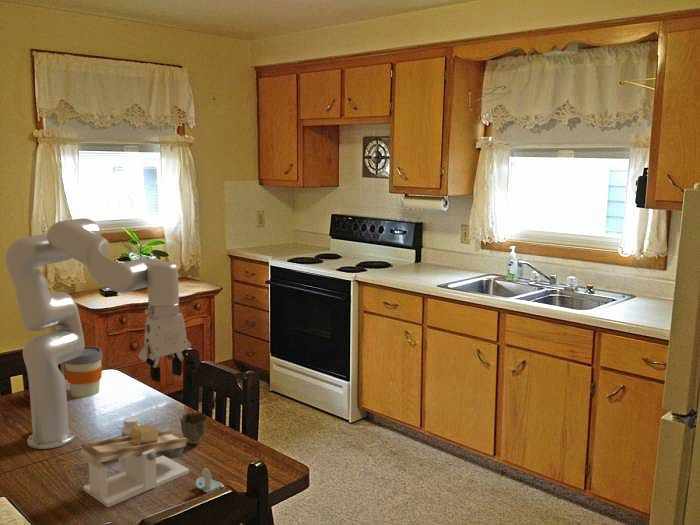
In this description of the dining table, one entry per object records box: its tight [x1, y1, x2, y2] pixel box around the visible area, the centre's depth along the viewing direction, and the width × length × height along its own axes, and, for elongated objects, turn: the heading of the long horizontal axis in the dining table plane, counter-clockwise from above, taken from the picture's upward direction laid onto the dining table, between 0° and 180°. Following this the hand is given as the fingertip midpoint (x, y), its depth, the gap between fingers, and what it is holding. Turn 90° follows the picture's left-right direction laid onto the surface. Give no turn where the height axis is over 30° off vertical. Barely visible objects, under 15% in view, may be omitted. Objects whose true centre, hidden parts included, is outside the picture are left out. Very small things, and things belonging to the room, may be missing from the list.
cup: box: [179, 412, 208, 446], centre depth 190 cm, size 8×7×8 cm
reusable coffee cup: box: [63, 345, 104, 398], centre depth 228 cm, size 13×13×15 cm
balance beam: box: [80, 429, 188, 463], centre depth 167 cm, size 25×8×5 cm, turn 139°
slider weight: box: [129, 423, 160, 446], centre depth 169 cm, size 5×5×4 cm
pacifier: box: [195, 467, 225, 494], centre depth 165 cm, size 7×6×6 cm
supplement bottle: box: [121, 416, 140, 437], centre depth 184 cm, size 5×5×10 cm
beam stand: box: [82, 436, 190, 508], centre depth 168 cm, size 23×14×10 cm, turn 139°
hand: (166, 377), depth 172 cm, fingers open, 5 cm apart
